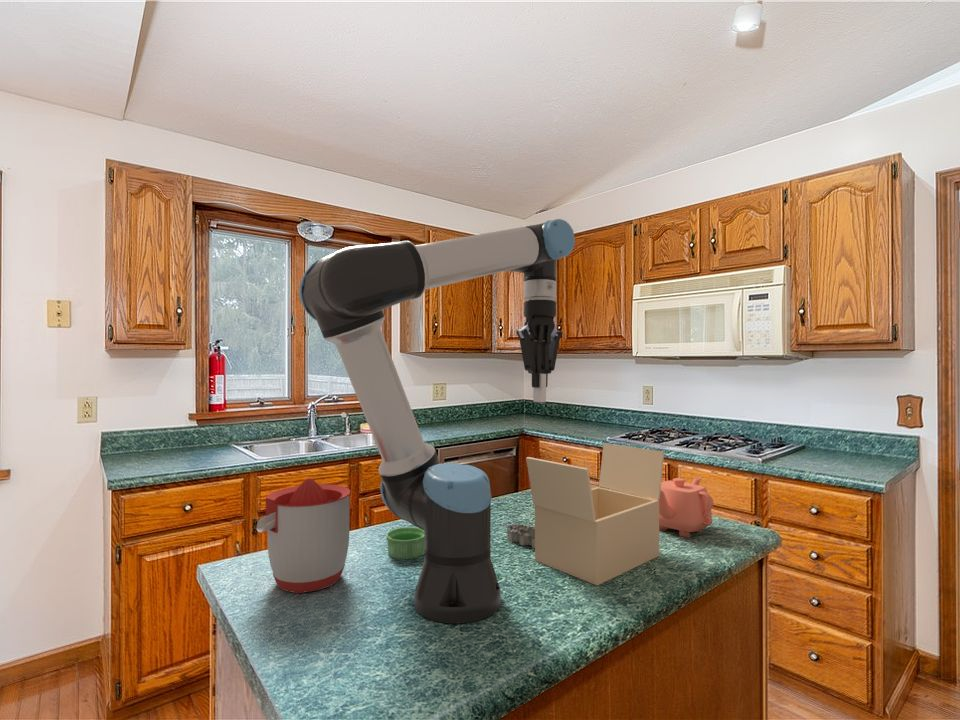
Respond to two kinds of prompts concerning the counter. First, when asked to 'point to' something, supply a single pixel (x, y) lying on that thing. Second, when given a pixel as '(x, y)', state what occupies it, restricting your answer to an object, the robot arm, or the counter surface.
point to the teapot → (684, 506)
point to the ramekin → (405, 542)
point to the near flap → (561, 488)
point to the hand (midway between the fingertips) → (539, 401)
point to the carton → (599, 536)
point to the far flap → (632, 470)
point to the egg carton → (521, 534)
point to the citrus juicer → (307, 535)
